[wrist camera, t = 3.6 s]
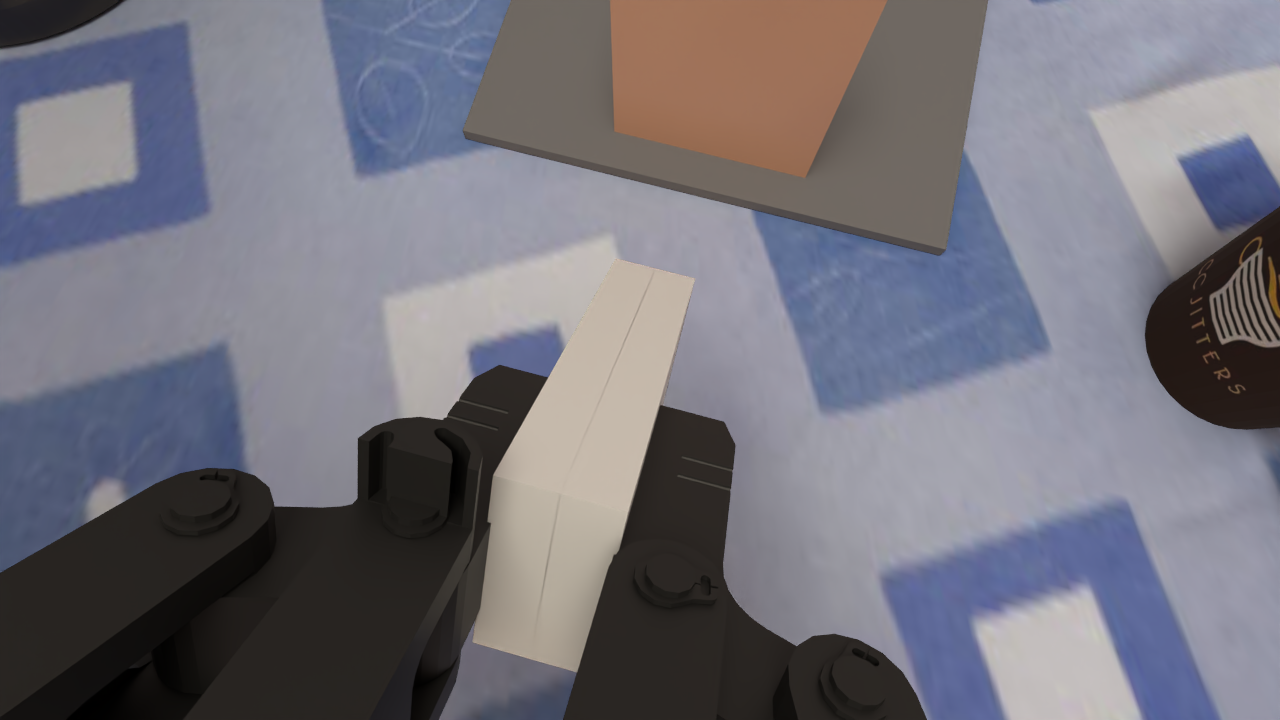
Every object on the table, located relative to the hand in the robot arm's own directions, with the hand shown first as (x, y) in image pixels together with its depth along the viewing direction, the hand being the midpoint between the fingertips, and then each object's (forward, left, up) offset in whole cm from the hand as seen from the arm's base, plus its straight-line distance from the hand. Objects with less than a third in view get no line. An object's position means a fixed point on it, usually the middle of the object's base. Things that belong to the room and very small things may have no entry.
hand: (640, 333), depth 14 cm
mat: (-12, +15, -14) cm, 24 cm away
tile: (-8, +10, -14) cm, 19 cm away
